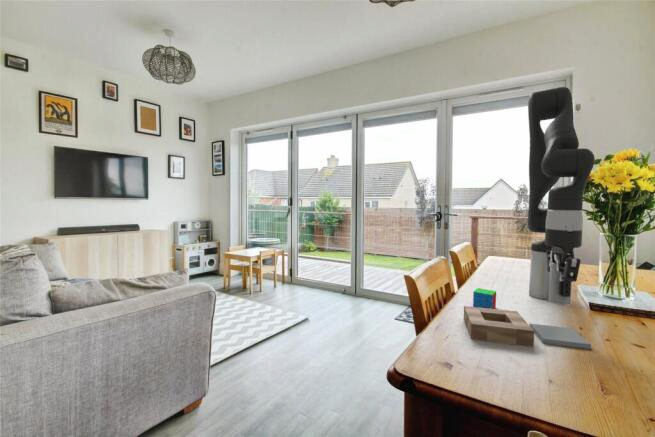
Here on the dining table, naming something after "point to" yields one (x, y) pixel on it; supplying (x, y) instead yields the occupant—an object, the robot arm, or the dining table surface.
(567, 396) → the dining table surface
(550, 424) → the dining table surface
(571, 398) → the dining table surface
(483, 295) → the puzzle toy
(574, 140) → the robot arm
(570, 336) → the coaster
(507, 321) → the socket block
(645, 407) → the dining table surface
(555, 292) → the grey hollow tube
